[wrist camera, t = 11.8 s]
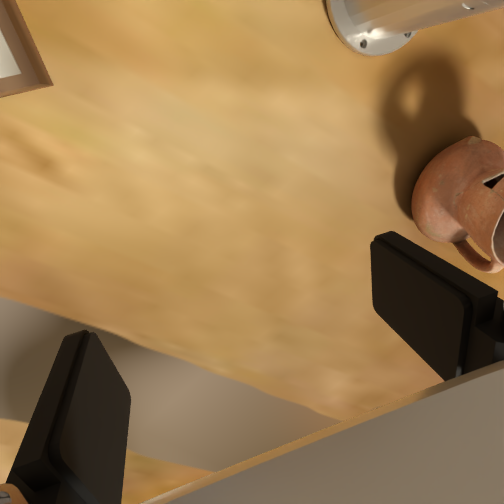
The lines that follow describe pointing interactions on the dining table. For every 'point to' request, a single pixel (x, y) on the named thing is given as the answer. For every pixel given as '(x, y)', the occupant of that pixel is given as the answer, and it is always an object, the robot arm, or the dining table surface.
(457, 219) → the ceramic jug
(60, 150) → the dining table surface
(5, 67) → the walnut picture frame
